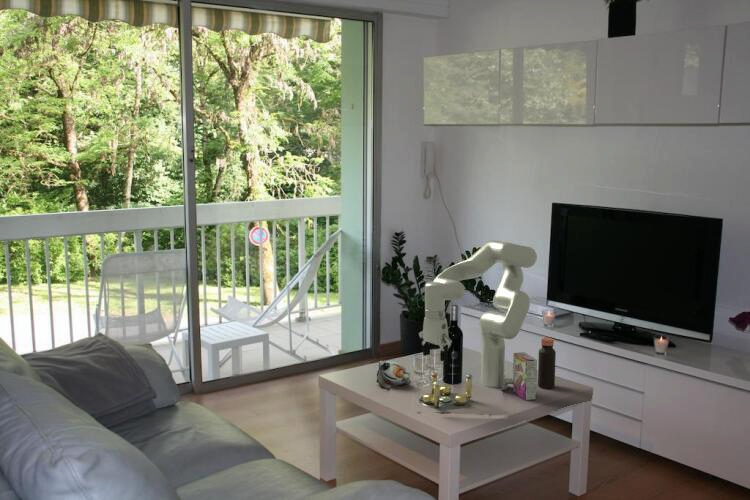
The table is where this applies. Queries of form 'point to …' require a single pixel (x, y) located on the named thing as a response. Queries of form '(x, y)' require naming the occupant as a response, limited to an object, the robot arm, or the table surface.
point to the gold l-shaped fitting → (432, 396)
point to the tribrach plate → (446, 403)
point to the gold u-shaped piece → (444, 389)
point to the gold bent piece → (463, 398)
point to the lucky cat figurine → (392, 374)
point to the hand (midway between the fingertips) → (435, 357)
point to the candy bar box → (524, 376)
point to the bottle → (546, 364)
